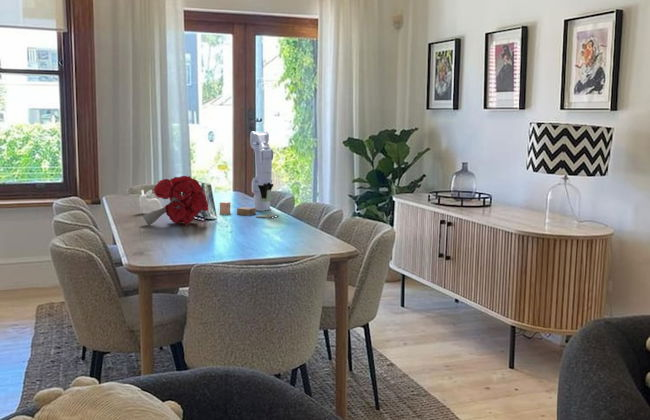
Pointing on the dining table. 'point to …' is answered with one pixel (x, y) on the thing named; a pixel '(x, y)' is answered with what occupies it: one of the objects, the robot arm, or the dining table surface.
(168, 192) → the bouquet
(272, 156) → the robot arm
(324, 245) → the dining table surface
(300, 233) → the dining table surface
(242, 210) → the walnut slab
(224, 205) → the terracotta block
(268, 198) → the sage block
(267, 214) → the card
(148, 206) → the rabbit
